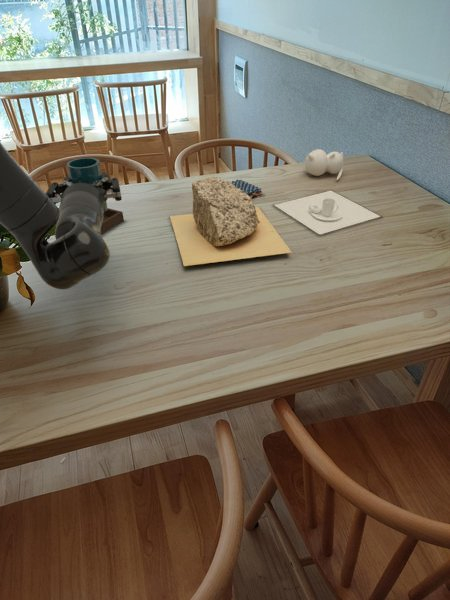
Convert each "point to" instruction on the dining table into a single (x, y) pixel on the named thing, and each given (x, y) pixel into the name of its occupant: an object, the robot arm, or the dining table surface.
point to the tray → (111, 219)
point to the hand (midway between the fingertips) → (87, 178)
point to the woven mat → (247, 188)
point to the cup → (85, 171)
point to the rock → (224, 226)
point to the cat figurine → (324, 163)
